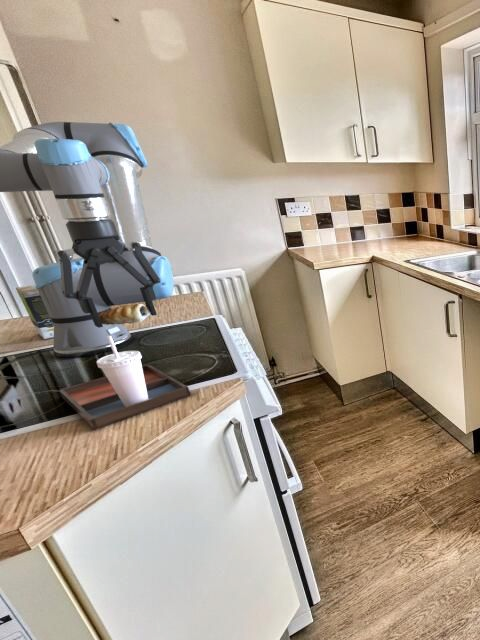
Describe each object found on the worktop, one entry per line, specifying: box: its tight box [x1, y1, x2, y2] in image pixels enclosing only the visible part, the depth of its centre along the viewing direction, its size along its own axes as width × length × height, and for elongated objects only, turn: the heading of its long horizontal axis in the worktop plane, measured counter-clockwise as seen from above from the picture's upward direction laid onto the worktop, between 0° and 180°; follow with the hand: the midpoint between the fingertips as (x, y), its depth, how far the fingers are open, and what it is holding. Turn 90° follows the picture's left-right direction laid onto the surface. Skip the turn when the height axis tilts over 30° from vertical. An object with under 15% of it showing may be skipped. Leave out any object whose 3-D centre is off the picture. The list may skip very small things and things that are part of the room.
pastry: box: [98, 303, 151, 325], centre depth 97 cm, size 9×7×4 cm
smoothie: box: [96, 336, 148, 406], centre depth 80 cm, size 6×6×14 cm
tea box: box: [15, 284, 54, 340], centre depth 126 cm, size 15×10×15 cm, turn 144°
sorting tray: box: [58, 363, 191, 430], centre depth 86 cm, size 22×15×2 cm
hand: (127, 319), depth 97 cm, fingers closed on pastry, 9 cm apart
